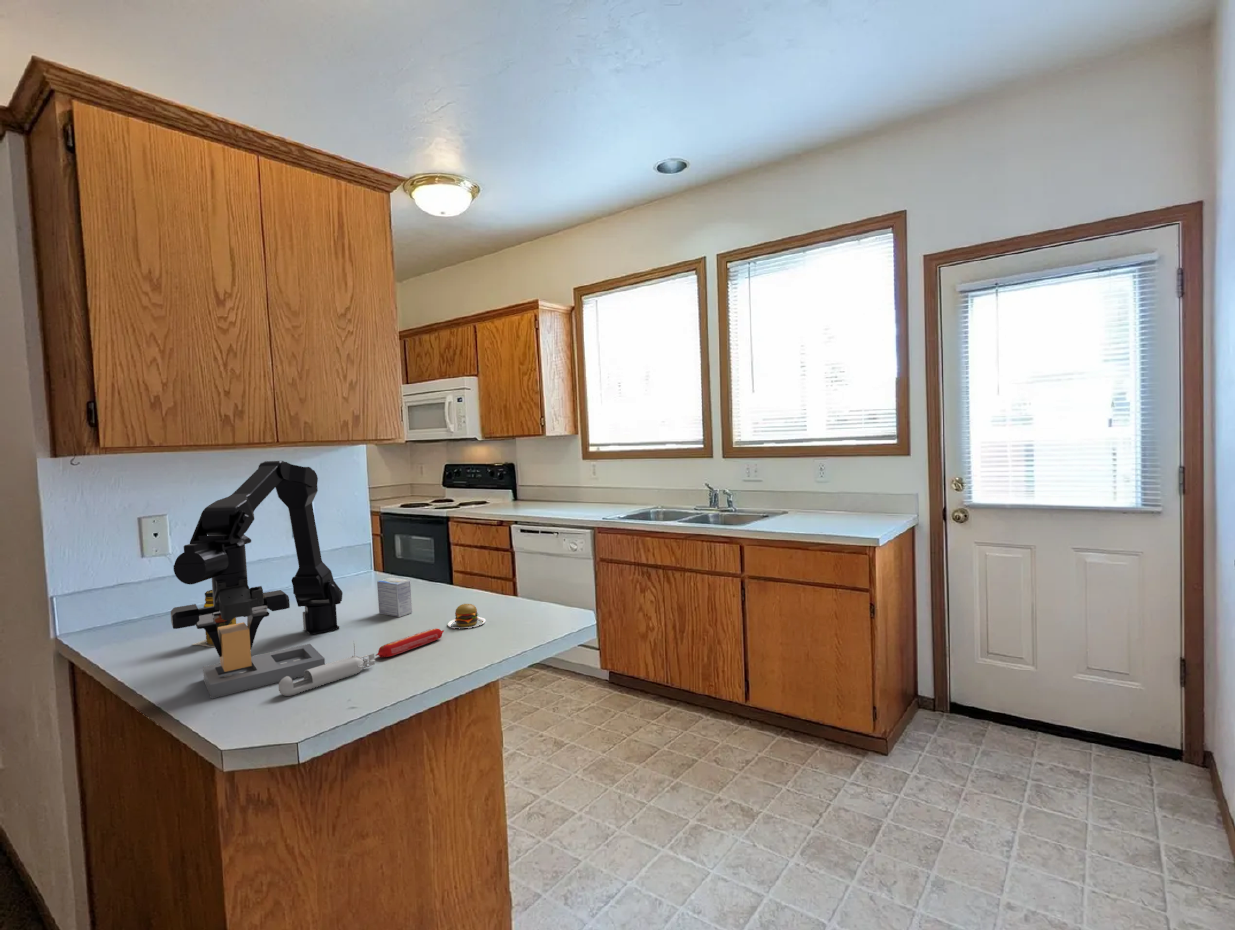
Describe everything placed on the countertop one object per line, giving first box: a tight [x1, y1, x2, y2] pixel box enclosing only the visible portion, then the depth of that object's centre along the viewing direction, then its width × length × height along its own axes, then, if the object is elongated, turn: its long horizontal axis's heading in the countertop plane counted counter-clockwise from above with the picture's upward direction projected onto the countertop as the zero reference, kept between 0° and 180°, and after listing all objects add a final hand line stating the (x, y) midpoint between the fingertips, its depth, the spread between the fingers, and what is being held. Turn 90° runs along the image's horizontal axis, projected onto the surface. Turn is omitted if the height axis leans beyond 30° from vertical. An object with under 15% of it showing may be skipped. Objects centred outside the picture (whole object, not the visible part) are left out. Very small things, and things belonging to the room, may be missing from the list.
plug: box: [218, 622, 252, 672], centre depth 122 cm, size 4×9×7 cm, turn 38°
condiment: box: [191, 589, 237, 648], centre depth 146 cm, size 7×8×12 cm
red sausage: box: [374, 628, 445, 658], centre depth 137 cm, size 16×4×3 cm, turn 146°
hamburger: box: [447, 603, 486, 630], centre depth 153 cm, size 12×12×6 cm
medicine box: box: [377, 577, 413, 618], centre depth 164 cm, size 8×4×9 cm, turn 57°
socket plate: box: [202, 643, 326, 699], centre depth 124 cm, size 19×12×2 cm, turn 128°
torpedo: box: [278, 644, 377, 697], centre depth 120 cm, size 18×5×7 cm, turn 141°
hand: (235, 653), depth 121 cm, fingers closed on plug, 4 cm apart
